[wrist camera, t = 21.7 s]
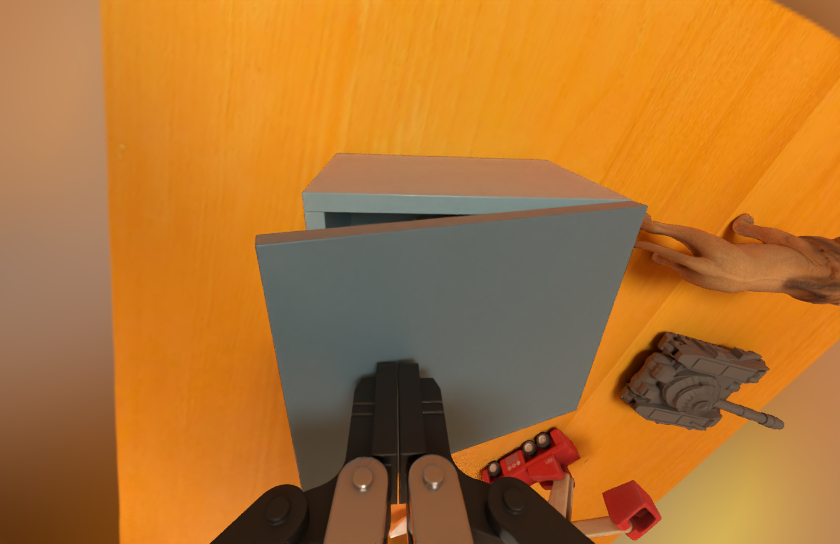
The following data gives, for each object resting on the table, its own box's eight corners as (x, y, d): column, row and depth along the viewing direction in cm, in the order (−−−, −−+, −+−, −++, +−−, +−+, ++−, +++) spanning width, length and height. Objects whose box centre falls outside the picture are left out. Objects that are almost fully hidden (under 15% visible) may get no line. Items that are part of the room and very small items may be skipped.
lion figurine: (807, 190, 25) (998, 237, 17) (778, 256, 28) (934, 324, 20) (605, 213, 25) (705, 272, 17) (595, 278, 27) (678, 356, 19)
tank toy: (767, 346, 32) (829, 389, 28) (699, 416, 36) (744, 464, 32) (661, 317, 30) (710, 359, 25) (602, 395, 34) (634, 444, 29)
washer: (346, 308, 27) (326, 404, 19) (336, 153, 22) (301, 192, 14) (517, 308, 28) (567, 398, 20) (547, 159, 23) (633, 199, 15)
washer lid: (302, 487, 15) (304, 505, 14) (255, 234, 10) (254, 245, 9) (566, 399, 20) (576, 410, 19) (631, 200, 15) (648, 205, 14)
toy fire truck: (476, 469, 38) (500, 581, 29) (587, 404, 34) (652, 510, 26) (494, 482, 39) (522, 592, 31) (602, 420, 35) (669, 526, 27)
